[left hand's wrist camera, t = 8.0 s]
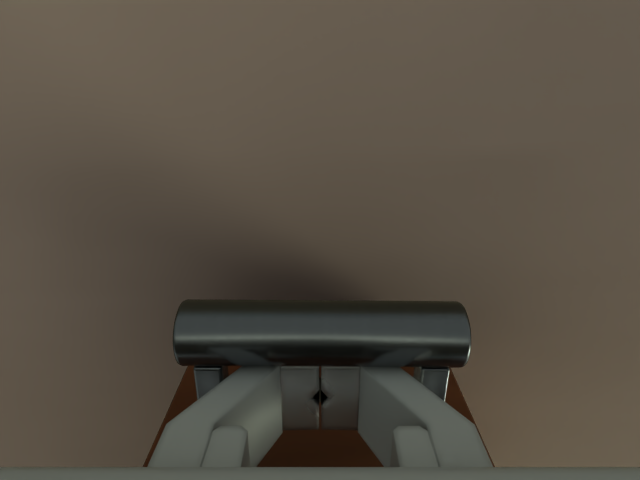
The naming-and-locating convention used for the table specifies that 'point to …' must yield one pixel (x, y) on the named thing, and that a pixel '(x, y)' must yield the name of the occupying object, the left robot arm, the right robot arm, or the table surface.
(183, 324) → the drawer
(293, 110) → the table surface
